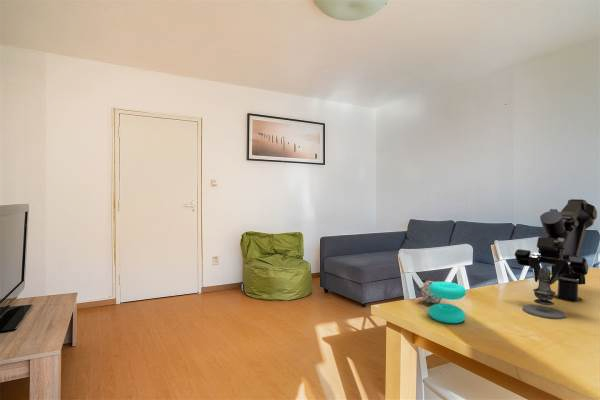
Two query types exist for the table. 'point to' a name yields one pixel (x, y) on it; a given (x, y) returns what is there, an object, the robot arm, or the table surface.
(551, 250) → the robot arm
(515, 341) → the table surface
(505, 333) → the table surface
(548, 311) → the charcoal mat
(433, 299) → the game die
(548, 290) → the dark grey tall piece
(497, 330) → the table surface
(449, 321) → the donuts
